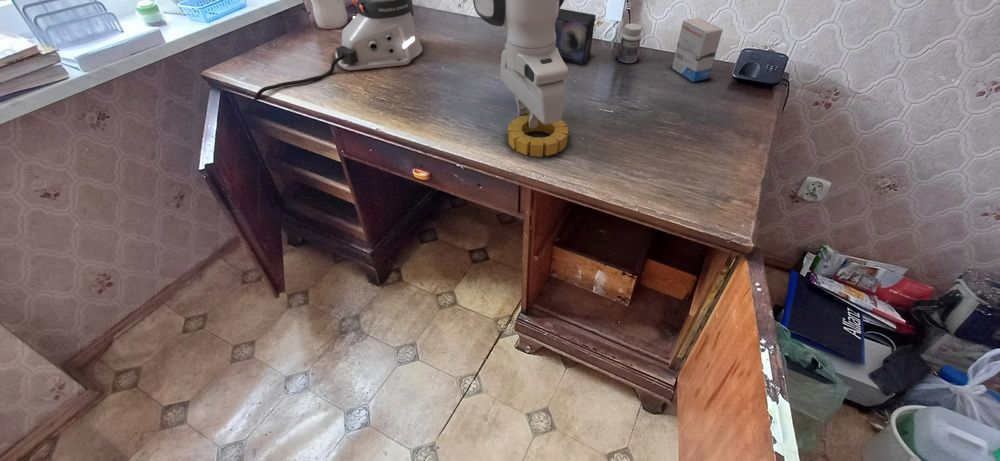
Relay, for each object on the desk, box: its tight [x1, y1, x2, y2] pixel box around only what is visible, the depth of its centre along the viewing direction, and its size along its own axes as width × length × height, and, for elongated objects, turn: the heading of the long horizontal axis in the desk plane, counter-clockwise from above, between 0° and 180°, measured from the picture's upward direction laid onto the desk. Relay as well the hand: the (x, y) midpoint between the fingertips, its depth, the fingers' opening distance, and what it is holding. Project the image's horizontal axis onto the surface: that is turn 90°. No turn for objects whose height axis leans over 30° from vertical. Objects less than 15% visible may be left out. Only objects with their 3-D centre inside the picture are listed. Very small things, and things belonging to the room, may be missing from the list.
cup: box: [310, 0, 349, 30], centre depth 136 cm, size 10×10×10 cm
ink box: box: [671, 17, 724, 83], centre depth 110 cm, size 9×5×12 cm, turn 21°
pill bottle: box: [617, 23, 643, 64], centre depth 117 cm, size 5×5×8 cm
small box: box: [555, 8, 597, 65], centre depth 118 cm, size 11×6×10 cm, turn 62°
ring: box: [507, 113, 569, 158], centre depth 92 cm, size 12×12×3 cm
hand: (527, 121), depth 95 cm, fingers closed on ring, 2 cm apart
